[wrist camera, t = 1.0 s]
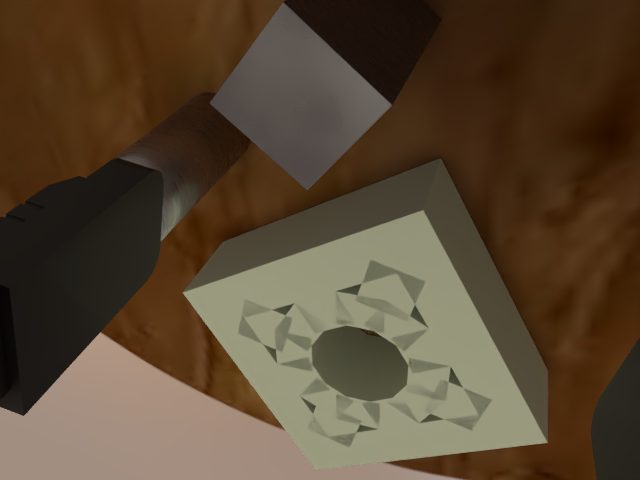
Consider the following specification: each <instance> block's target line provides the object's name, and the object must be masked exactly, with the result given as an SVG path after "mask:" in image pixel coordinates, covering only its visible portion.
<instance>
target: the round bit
mask: <svg viewBox="0 0 640 480" xmlns="http://www.w3.org/2000/svg"><path fill="white" fill-rule="evenodd" d="M215 95H216V94H215V93H204V94H200V95H198V96H196V97H194V98H193V99H192V100H190V101H189V102H188V103H186V104H185V105H184V106H182V107H181V108H180V109H178V110H177V111H176V112H175V113H173V114H172V115H171V116H169V117H168V118H167V119H165V120H164V121H163V122H161V123H160V124H159V125H157V126H156V127H155V128H153V129H152V130H151V131H149V132H148V133H147V134H145V135H144V136H143V137H141V138H140V139H139V140H138V141H136V142H135V143H134V144H132V145H131V146H130V147H128V148H127V149H126V150H124V151H123V152H122V153H120V154H119V155H118V156H116V157H115V158H120V159H123V160H127V161H130V162H133V163H136V164H139V165H142V166H145V167H148V168H152V169H155V170H158V171H160V172H161V173H162V175H163V179H164V194H163V210H162V227H161V241H162V240H163V239H164V238H165V236H166V235H167V234H168V233H169V232H170V231H171V230H172V229H173V228H174V227H175V226H176V225H177V224H178V223H179V222H180V221H181V220H182V218H183V217H184V216H185V215H186V214H187V213H188V212H189V211H190V210H191V209H192V208H193V207H194V206H195V205H196V204H197V203H198V202H199V200H200V199H201V198H202V197H203V196H204V195H205V194H206V193H207V192H208V191H209V190H210V189H211V188H212V187H213V186H214V185H215V184H216V182H217V181H218V180H219V179H220V178H221V177H222V176H223V175H224V174H225V173H226V172H227V171H228V170H229V169H230V168H231V167H232V166H233V164H234V163H235V162H236V161H237V160H238V159H239V158H240V157H241V156H242V155H243V154H244V153H245V151H246V150H247V148H248V146H249V143H250V139H249V138H248V137H247V136H246V135H245V134H243V133H242V132H241V131H240V130H239V129H238V128H237V127H236V126H234V125H233V124H232V123H231V122H230V121H229V120H228V119H227V118H225V117H224V116H223V115H222V114H221V113H220V112H219V111H218V110H216V109H215V108H214V107H213V106H212V105H211V104H210V102H211V101H212V99H213V98H214V96H215ZM115 158H114V159H115ZM112 160H113V159H112Z"/></svg>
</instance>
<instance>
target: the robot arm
mask: <svg viewBox="0 0 640 480" xmlns="http://www.w3.org/2000/svg"><path fill="white" fill-rule="evenodd" d="M163 194H164V179H163V175H162V173H161V172H160V171H158V170H155V169H152V168H148V167H145V166H142V165H139V164H136V163H133V162H130V161H127V160H123V159H120V158H115V159H113V160H111V161H110V162H108V163H107V164H105V165H104V166H102V167H101V168H100V169H98V170H97V171H95V172H94V173H93V174H91V175H90V176H88V177H87V178H84V177H81V176H78V177H74V178H71V179H68V180H65V181H61V182H58V183H55V184H52V185H48V186H47V187H45V188H44V189H42V190H41V191H39V192H38V193H36V194H35V195H33V196H32V197H30V198H29V199H27V200H26V202H25V204H24V205H23V204H20V205H18V206H17V207H15V208H14V209H12V210H11V211H9V212H8V213H6V217H5V218H4V217H0V407H2V408H5V409H7V410H10V411H12V412H15V413H18V414H20V415H23V416H24V415H25V414H26V413H27V412H28V411H29V410H30V409H31V408H32V406H33V405H34V404H35V403H36V402H37V401H38V400H39V399H40V398H41V397H42V395H43V394H44V393H45V392H46V391H47V390H48V389H49V388H50V387H51V386H52V384H53V383H54V382H55V381H56V380H57V379H58V378H59V377H60V375H61V374H62V373H63V372H64V371H65V370H66V369H67V368H68V367H69V366H70V365H71V364H72V362H73V361H74V360H75V359H76V358H77V357H78V356H79V355H80V354H81V353H82V351H83V350H84V349H85V348H86V347H87V346H88V345H89V344H90V343H91V342H92V340H93V339H94V338H95V337H96V336H97V335H98V334H99V333H100V332H101V331H102V330H103V328H104V327H105V326H106V325H107V324H108V323H109V322H110V321H111V320H112V319H113V317H114V316H115V315H116V314H117V313H118V312H119V311H120V310H121V309H122V308H123V306H124V305H125V304H126V303H127V302H128V301H129V300H130V299H131V298H132V297H133V295H134V294H135V293H136V292H137V291H138V290H139V289H140V288H141V287H142V286H143V284H144V283H145V282H146V281H147V280H148V278H149V277H150V275H151V274H152V272H153V270H154V268H155V265H156V263H157V260H158V256H159V252H160V244H161V227H162V210H163ZM591 438H592V446H593V453H594V461H595V469H596V476H597V480H640V338H639V339H638V341H637V342H636V344H635V345H634V347H633V348H632V350H631V351H630V353H629V354H628V356H627V357H626V359H625V360H624V362H623V364H622V365H621V367H620V368H619V370H618V371H617V373H616V374H615V376H614V377H613V379H612V380H611V382H610V383H609V385H608V386H607V388H606V389H605V391H604V392H603V394H602V395H601V397H600V399H599V401H598V403H597V406H596V408H595V411H594V415H593V419H592V426H591Z"/></svg>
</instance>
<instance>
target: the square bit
mask: <svg viewBox="0 0 640 480" xmlns="http://www.w3.org/2000/svg"><path fill="white" fill-rule="evenodd" d="M441 20H442V19H441V18H440V17H439V16H438V15H437V14H436V13H435V12H434V11H433V10H432V9H431V8H430V7H429V6H428V5H427V4H426V3H425V2H424V1H423V0H286V1H285V2H283V3H282V5H281V6H280V8H279V9H278V10H277V12H276V13H275V14H274V16H273V17H272V18H271V20H270V21H269V23H268V24H267V25H266V27H265V28H264V29H263V31H262V32H261V34H260V35H259V36H258V38H257V39H256V40H255V42H254V43H253V44H252V46H251V47H250V49H249V50H248V51H247V53H246V54H245V55H244V57H243V58H242V60H241V61H240V62H239V64H238V65H237V66H236V68H235V69H234V70H233V72H232V73H231V75H230V76H229V77H228V79H227V80H226V81H225V83H224V84H223V85H222V87H221V88H220V90H219V91H218V92H217V94H216V95H215V96H214V98H213V99H212V101H211V102H210V104H211V105H212V106H213V107H214V108H215V109H216V110H218V111H219V112H220V113H221V114H222V115H223V116H224V117H225V118H227V119H228V120H229V121H230V122H231V123H232V124H233V125H234V126H236V127H237V128H238V129H239V130H240V131H241V132H242V133H243V134H245V135H246V136H247V137H248V138H249V139H250V140H251V141H252V142H254V143H255V144H256V145H257V146H258V147H259V148H260V149H261V150H263V151H264V152H265V153H266V154H267V155H268V156H269V157H270V158H272V159H273V160H274V161H275V162H276V163H277V164H278V165H279V166H281V167H282V168H283V169H284V170H285V171H286V172H287V173H288V174H290V175H291V176H292V177H293V178H294V179H295V180H296V181H297V182H299V183H300V184H301V185H302V186H303V187H304V188H305V189H306V190H308V189H309V188H310V187H311V186H312V185H313V184H314V183H315V182H316V181H317V180H318V179H319V178H320V177H321V176H322V175H323V174H324V173H325V172H326V171H327V170H328V169H329V168H330V167H331V166H332V165H333V164H334V163H335V162H336V161H337V160H338V159H339V158H340V157H341V156H342V155H343V154H344V153H345V152H346V151H347V150H348V149H349V148H350V147H351V146H352V145H353V144H354V143H355V142H356V141H357V140H358V139H359V138H360V137H361V136H362V135H363V134H364V133H365V132H366V131H367V130H368V129H369V128H370V127H371V126H372V125H373V124H374V123H375V122H376V121H377V120H378V119H379V118H380V117H381V116H382V115H383V114H384V113H385V112H386V111H387V110H388V109H389V108H390V107H391V106H392V104H393V103H394V101H395V99H396V98H397V96H398V94H399V92H400V91H401V89H402V87H403V85H404V84H405V82H406V80H407V78H408V77H409V75H410V73H411V72H412V70H413V68H414V66H415V65H416V63H417V61H418V59H419V58H420V56H421V54H422V53H423V51H424V49H425V47H426V46H427V44H428V42H429V40H430V39H431V37H432V35H433V33H434V32H435V30H436V28H437V27H438V25H439V23H440V21H441Z"/></svg>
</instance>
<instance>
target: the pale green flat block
mask: <svg viewBox="0 0 640 480" xmlns="http://www.w3.org/2000/svg"><path fill="white" fill-rule="evenodd" d="M183 294H184V295H185V296H186V298H187V299H188V300H189V302H190V303H191V304H192V306H193V307H194V309H195V310H196V311H197V313H198V314H199V315H200V317H201V318H202V319H203V321H204V322H205V323H206V325H207V326H208V327H209V329H210V330H211V331H212V333H213V334H214V335H215V337H216V338H217V339H218V341H219V342H220V343H221V345H222V346H223V347H224V349H225V350H226V351H227V353H228V354H229V355H230V357H231V358H232V359H233V361H234V362H235V363H236V365H237V366H238V367H239V369H240V370H241V371H242V373H243V374H244V375H245V377H246V378H247V379H248V381H249V382H250V384H251V385H252V386H253V388H254V389H255V390H256V392H257V393H258V394H259V396H260V397H261V398H262V400H263V401H264V402H265V404H266V405H267V406H268V408H269V409H270V410H271V412H272V413H273V414H274V416H275V417H276V418H277V420H278V421H279V422H280V424H281V425H282V426H283V428H284V429H285V430H286V432H287V433H288V434H289V436H290V437H291V438H292V440H293V441H294V442H295V444H296V445H297V446H298V448H299V449H300V450H301V452H302V453H303V454H304V456H305V457H306V458H307V460H308V461H309V463H310V464H311V465H312V466H313V468H314V469H315V470H320V469H329V468H337V467H346V466H354V465H363V464H370V463H380V462H388V461H397V460H405V459H414V458H422V457H431V456H439V455H447V454H456V453H464V452H473V451H481V450H490V449H498V448H507V447H515V446H524V445H532V444H541V443H547V438H548V370H547V368H546V366H545V364H544V362H543V360H542V358H541V356H540V354H539V352H538V350H537V348H536V346H535V344H534V342H533V340H532V338H531V336H530V334H529V332H528V330H527V328H526V326H525V324H524V322H523V320H522V318H521V316H520V314H519V312H518V310H517V308H516V306H515V304H514V302H513V300H512V298H511V296H510V294H509V292H508V290H507V288H506V286H505V284H504V282H503V280H502V278H501V276H500V274H499V272H498V270H497V268H496V266H495V264H494V262H493V260H492V258H491V256H490V254H489V253H488V251H487V249H486V247H485V245H484V243H483V241H482V239H481V237H480V235H479V233H478V231H477V229H476V227H475V225H474V223H473V221H472V219H471V217H470V215H469V213H468V211H467V209H466V207H465V205H464V203H463V201H462V199H461V197H460V195H459V193H458V191H457V189H456V187H455V185H454V183H453V181H452V179H451V177H450V175H449V173H448V171H447V169H446V167H445V165H444V163H443V161H442V159H441V158H439V159H437V160H434V161H431V162H429V163H426V164H424V165H421V166H418V167H416V168H413V169H411V170H408V171H405V172H403V173H400V174H398V175H395V176H392V177H390V178H387V179H385V180H382V181H379V182H377V183H374V184H372V185H369V186H366V187H364V188H361V189H359V190H356V191H353V192H351V193H348V194H346V195H343V196H340V197H338V198H335V199H333V200H330V201H327V202H325V203H322V204H320V205H317V206H314V207H312V208H309V209H307V210H304V211H301V212H299V213H296V214H294V215H291V216H288V217H286V218H283V219H281V220H278V221H275V222H273V223H270V224H268V225H265V226H262V227H260V228H257V229H255V230H252V231H249V232H247V233H244V234H242V235H239V236H236V237H234V238H231V239H229V240H226V241H223V243H222V244H221V245H220V246H219V248H218V249H217V250H216V251H215V253H214V254H213V255H212V256H211V258H210V259H209V260H208V261H207V263H206V264H205V265H204V266H203V268H202V269H201V270H200V272H199V273H198V274H197V275H196V277H195V278H194V279H193V280H192V282H191V283H190V284H189V285H188V287H187V288H186V289H185V290H184V292H183ZM359 328H362V329H367V330H372V331H374V332H376V333H378V334H379V335H381V336H382V337H378V336H372V335H368V334H366V333H365V332H363V331H362V330H360V329H359ZM383 337H384V338H383Z"/></svg>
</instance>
